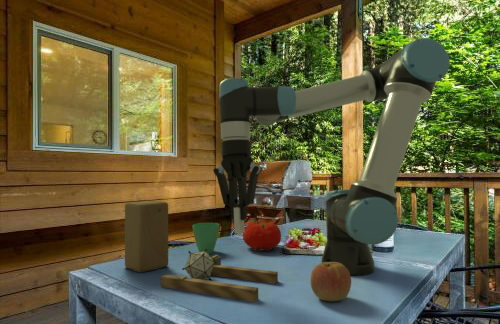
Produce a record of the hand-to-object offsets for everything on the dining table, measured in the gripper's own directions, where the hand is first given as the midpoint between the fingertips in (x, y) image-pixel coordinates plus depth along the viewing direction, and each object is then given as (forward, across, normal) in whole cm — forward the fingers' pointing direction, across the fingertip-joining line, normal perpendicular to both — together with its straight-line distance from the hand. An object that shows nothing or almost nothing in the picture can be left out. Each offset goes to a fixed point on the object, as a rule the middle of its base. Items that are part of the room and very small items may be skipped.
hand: (239, 232), depth 83 cm
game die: (+13, +12, 0) cm, 18 cm away
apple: (+14, -22, 0) cm, 26 cm away
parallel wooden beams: (+13, +6, -1) cm, 15 cm away
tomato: (+14, +11, -40) cm, 44 cm away
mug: (+13, +30, -30) cm, 44 cm away
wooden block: (+13, +35, -4) cm, 37 cm away
